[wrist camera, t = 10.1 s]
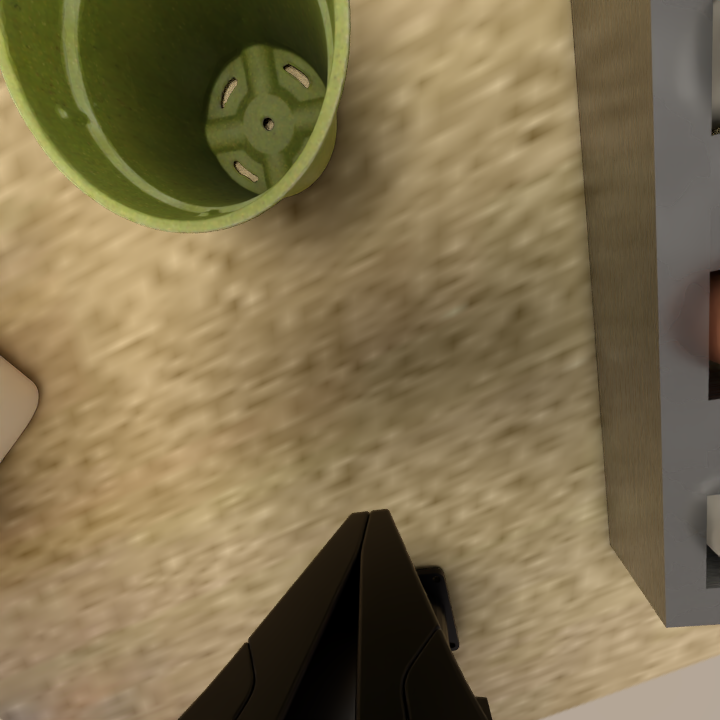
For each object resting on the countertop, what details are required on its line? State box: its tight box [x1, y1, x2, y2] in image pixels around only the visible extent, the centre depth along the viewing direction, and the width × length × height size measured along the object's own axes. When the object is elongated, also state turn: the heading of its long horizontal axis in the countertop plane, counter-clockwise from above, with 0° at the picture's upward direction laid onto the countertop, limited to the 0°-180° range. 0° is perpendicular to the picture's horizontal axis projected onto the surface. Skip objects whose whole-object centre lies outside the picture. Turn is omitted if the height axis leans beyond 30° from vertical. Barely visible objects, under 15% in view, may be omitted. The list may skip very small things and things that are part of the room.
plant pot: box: [0, 0, 351, 233], centre depth 14 cm, size 9×9×9 cm
